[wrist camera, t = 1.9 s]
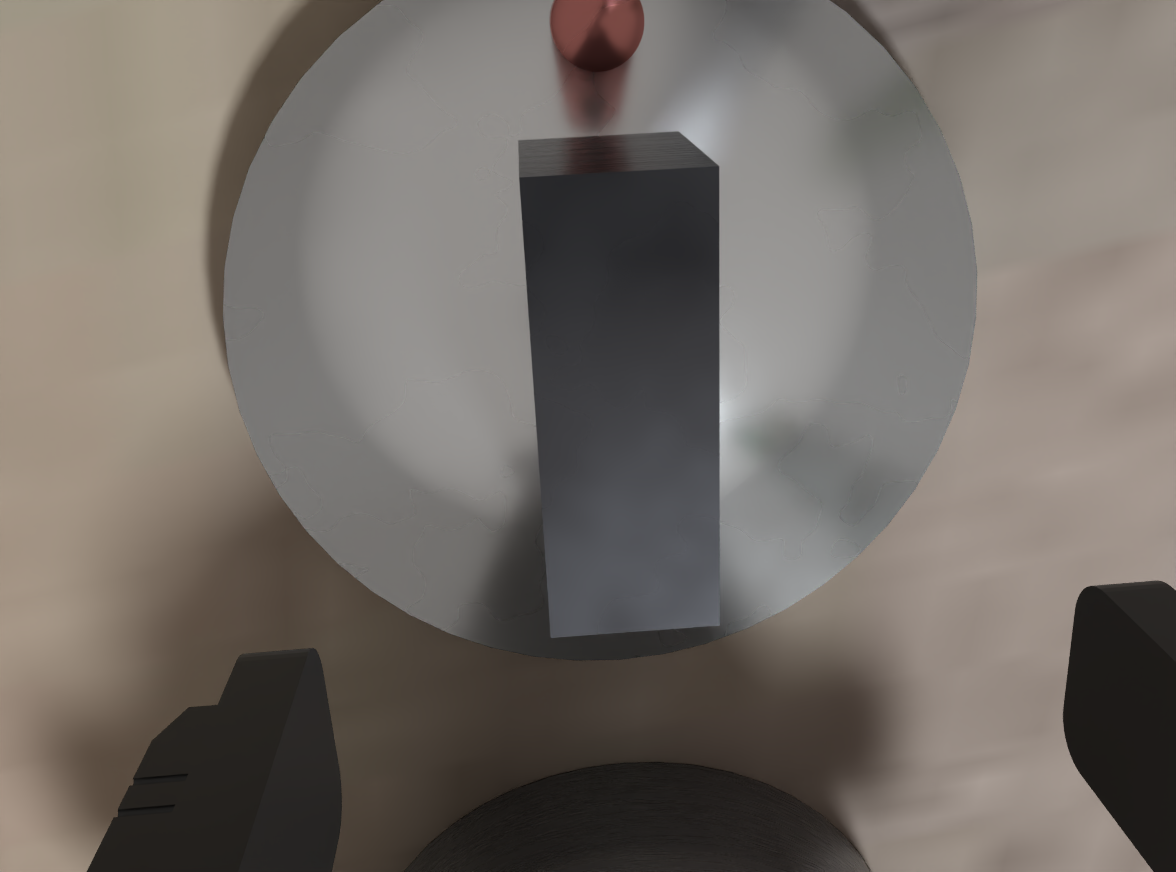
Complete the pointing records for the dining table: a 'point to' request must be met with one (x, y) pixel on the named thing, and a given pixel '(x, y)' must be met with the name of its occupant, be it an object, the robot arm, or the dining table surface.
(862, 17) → the dining table surface
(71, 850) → the dining table surface
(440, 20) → the steel lid
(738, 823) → the cooker pot
